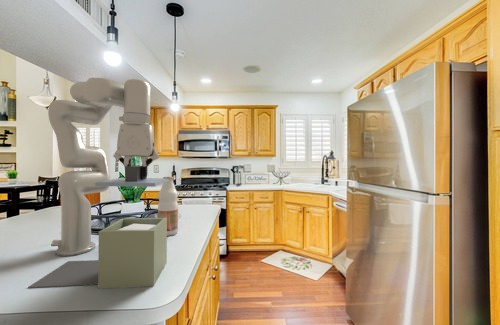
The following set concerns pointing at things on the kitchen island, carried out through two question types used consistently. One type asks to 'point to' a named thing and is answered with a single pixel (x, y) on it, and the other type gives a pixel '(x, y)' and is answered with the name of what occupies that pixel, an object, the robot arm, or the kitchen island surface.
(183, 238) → the kitchen island surface
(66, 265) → the mat
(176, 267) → the kitchen island surface
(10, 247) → the kitchen island surface
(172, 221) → the fruit juice
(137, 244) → the storage box
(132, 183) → the lid
